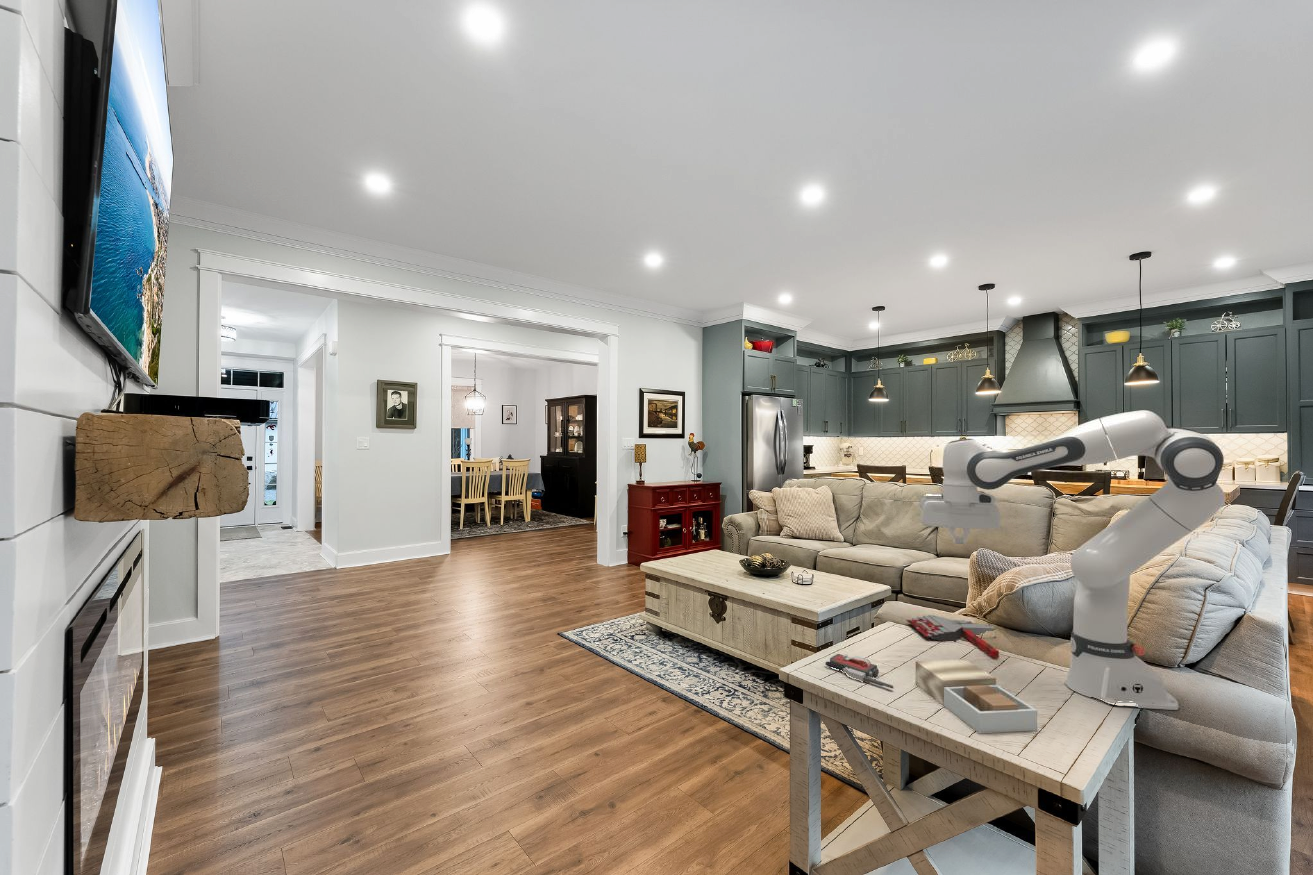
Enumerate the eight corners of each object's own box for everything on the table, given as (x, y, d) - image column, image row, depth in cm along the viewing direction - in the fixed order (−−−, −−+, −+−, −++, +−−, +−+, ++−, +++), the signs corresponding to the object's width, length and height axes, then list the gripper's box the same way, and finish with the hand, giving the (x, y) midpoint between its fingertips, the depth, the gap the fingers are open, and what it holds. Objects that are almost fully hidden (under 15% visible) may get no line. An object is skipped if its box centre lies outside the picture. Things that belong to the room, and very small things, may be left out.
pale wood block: (915, 683, 152) (915, 661, 152) (964, 681, 154) (964, 659, 154) (942, 704, 140) (943, 680, 140) (995, 702, 142) (996, 678, 142)
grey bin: (943, 705, 140) (943, 687, 140) (996, 702, 141) (996, 684, 141) (979, 733, 127) (979, 713, 127) (1037, 730, 128) (1037, 710, 128)
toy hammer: (945, 646, 169) (906, 614, 199) (945, 659, 169) (906, 625, 199) (1028, 648, 168) (976, 616, 198) (1028, 661, 168) (976, 626, 198)
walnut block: (964, 685, 138) (993, 705, 128) (987, 684, 139) (1017, 704, 129) (964, 706, 138) (993, 727, 128) (987, 705, 139) (1017, 726, 129)
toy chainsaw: (821, 670, 161) (891, 694, 147) (821, 654, 161) (891, 677, 147) (836, 661, 167) (905, 683, 153) (836, 646, 167) (905, 667, 153)
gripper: (921, 494, 164) (920, 542, 164) (1002, 497, 158) (1001, 547, 158) (918, 492, 170) (918, 539, 170) (996, 495, 164) (996, 543, 164)
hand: (959, 543), depth 164 cm, fingers closed
